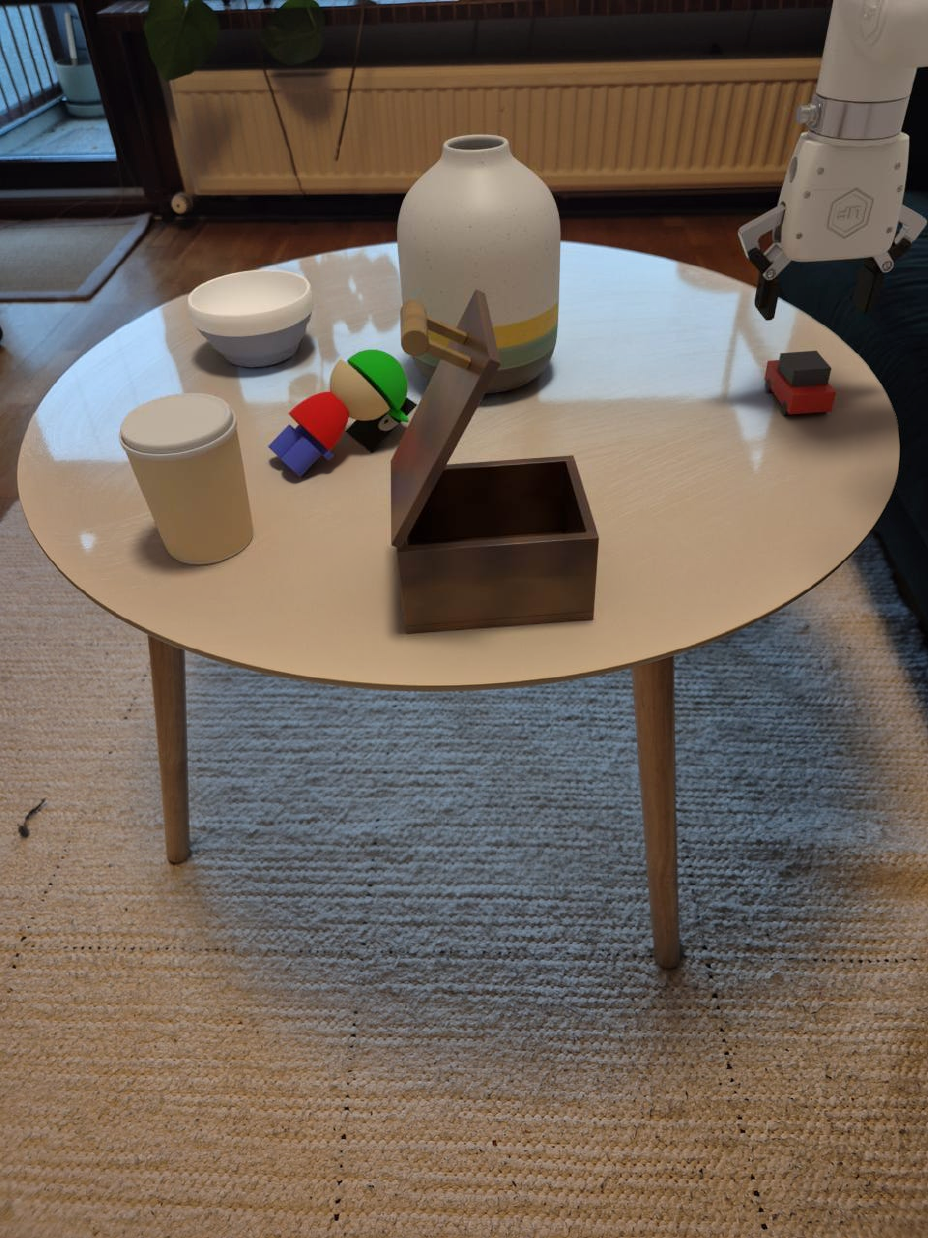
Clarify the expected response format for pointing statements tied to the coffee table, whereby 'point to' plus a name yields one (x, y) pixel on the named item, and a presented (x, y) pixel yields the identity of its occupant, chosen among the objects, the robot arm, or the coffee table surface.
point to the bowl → (253, 315)
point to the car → (800, 382)
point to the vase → (484, 253)
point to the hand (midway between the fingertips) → (813, 311)
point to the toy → (347, 410)
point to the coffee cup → (191, 474)
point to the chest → (501, 548)
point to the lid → (439, 403)
